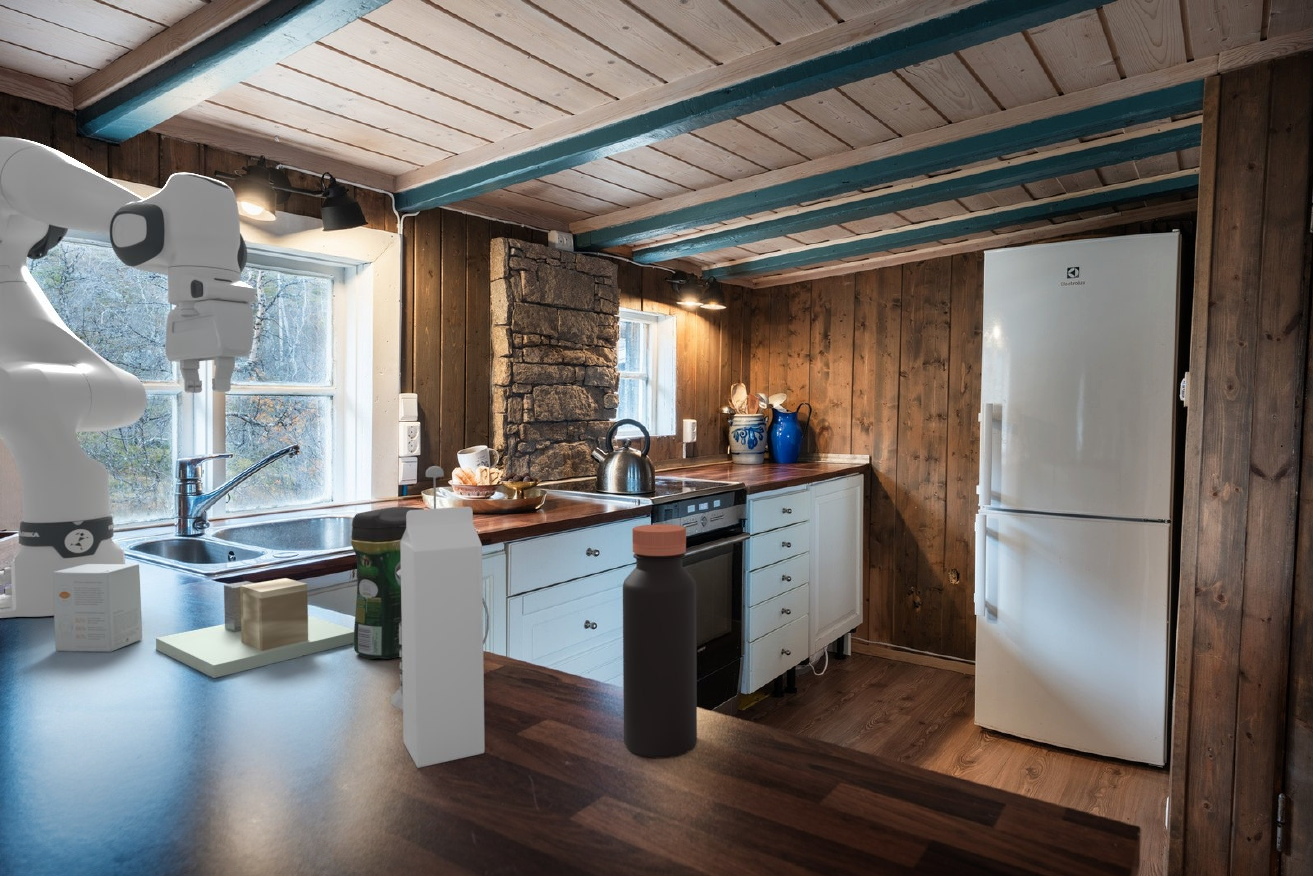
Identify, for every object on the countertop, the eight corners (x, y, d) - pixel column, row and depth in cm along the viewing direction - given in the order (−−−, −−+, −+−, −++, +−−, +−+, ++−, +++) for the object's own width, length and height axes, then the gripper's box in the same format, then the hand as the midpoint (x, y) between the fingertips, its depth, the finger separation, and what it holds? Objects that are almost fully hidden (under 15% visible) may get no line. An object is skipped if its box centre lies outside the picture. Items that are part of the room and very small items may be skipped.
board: (156, 649, 101) (155, 638, 101) (292, 620, 115) (292, 610, 115) (214, 678, 90) (213, 665, 90) (357, 642, 104) (357, 631, 104)
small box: (143, 640, 105) (141, 563, 105) (110, 653, 100) (108, 572, 99) (89, 639, 106) (87, 562, 106) (53, 651, 100) (51, 571, 100)
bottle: (645, 723, 76) (644, 521, 75) (708, 736, 73) (708, 525, 72) (609, 750, 70) (608, 530, 69) (677, 766, 67) (676, 535, 66)
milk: (485, 754, 69) (483, 510, 68) (416, 769, 66) (413, 514, 66) (466, 729, 75) (464, 502, 74) (401, 743, 72) (399, 506, 71)
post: (225, 639, 105) (223, 584, 105) (247, 634, 107) (246, 581, 107) (234, 643, 103) (233, 587, 103) (257, 638, 106) (256, 584, 105)
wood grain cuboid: (241, 642, 99) (240, 585, 98) (286, 632, 103) (285, 578, 103) (262, 651, 95) (261, 592, 95) (308, 640, 100) (307, 583, 99)
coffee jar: (403, 636, 106) (401, 502, 106) (443, 645, 102) (441, 505, 101) (341, 655, 98) (339, 509, 97) (382, 665, 94) (380, 513, 93)
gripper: (151, 297, 111) (153, 393, 112) (211, 282, 99) (213, 390, 99) (199, 302, 116) (200, 393, 117) (261, 288, 104) (263, 391, 104)
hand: (207, 392), depth 108 cm, fingers open, 8 cm apart
